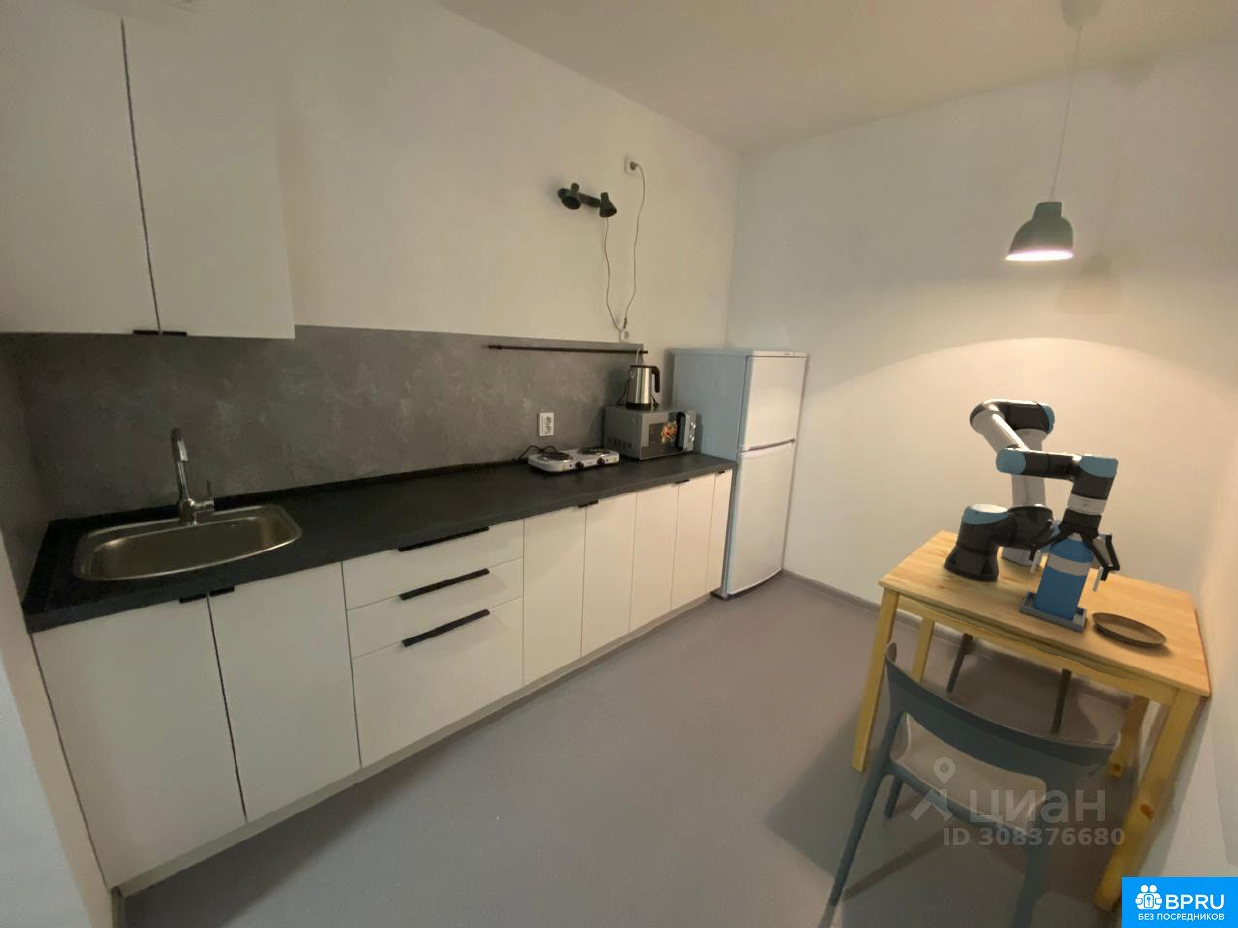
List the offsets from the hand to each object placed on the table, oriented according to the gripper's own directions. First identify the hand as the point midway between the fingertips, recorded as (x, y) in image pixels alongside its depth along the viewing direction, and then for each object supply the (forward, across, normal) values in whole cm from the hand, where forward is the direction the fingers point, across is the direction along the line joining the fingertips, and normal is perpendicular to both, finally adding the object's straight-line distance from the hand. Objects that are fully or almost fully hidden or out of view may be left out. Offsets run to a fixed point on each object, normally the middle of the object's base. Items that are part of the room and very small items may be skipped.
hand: (1062, 580), depth 141 cm
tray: (+11, 0, 0) cm, 11 cm away
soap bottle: (+11, -13, +41) cm, 45 cm away
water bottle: (+10, 0, 0) cm, 10 cm away
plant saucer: (+11, +15, +3) cm, 19 cm away
